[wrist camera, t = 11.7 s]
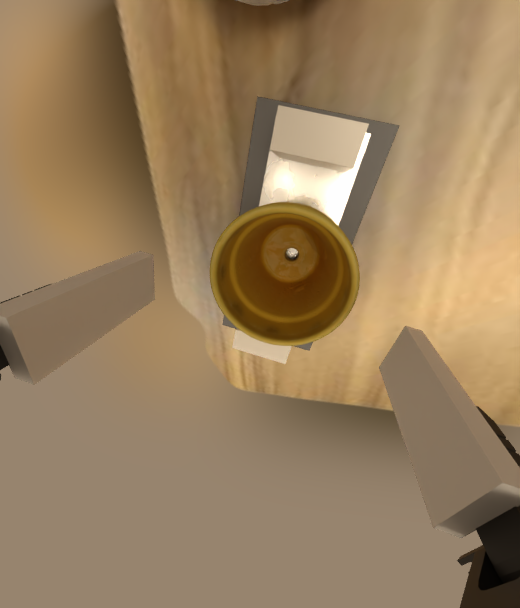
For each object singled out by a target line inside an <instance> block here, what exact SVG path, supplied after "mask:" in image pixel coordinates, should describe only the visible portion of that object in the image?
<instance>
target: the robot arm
mask: <svg viewBox="0 0 520 608" xmlns="http://www.w3.org/2000/svg"><path fill="white" fill-rule="evenodd" d="M154 299H155V296H154V263H153V255H152V254H149V253H145V252H142V251H139V252H136V253H134V254H131V255H128V256H126V257H123V258H120V259H118V260H115V261H112V262H110V263H107V264H104V265H102V266H99V267H96V268H94V269H91V270H88V271H86V272H83V273H80V274H78V275H75V276H72V277H70V278H68V279H64V280H62V281H59V282H57V283H54V284H49V285H46V286H44V287H41V288H38V289H36V290H34V291H30V292H28V293H25V294H23V295H22V296H17V297H14V298H11V299H9V300H6V301H3V302H1V303H0V370H1V369H3V368H4V367H6V366H8V365H9V366H10V368H11V370H12V372H13V375H14V377H15V378H17V379H20V380H23V381H25V382H28V383H31V384H36V383H37V382H39V381H40V380H41V379H43V378H44V377H46V376H47V375H49V374H50V373H51V372H53V371H54V370H56V369H57V368H58V367H60V366H61V365H63V364H64V363H66V362H67V361H68V360H70V359H71V358H73V357H74V356H75V355H77V354H78V353H80V352H81V351H83V350H84V349H85V348H87V347H88V346H90V345H91V344H92V343H94V342H95V341H97V340H98V339H100V338H101V337H102V336H104V335H105V334H107V333H108V332H109V331H111V330H112V329H114V328H115V327H116V326H118V325H119V324H121V323H122V322H123V321H125V320H126V319H128V318H129V317H131V316H132V315H133V314H135V313H136V312H138V311H139V310H140V309H142V308H143V307H144V306H146V305H148V304H149V303H150V302H152V301H153V300H154ZM379 369H380V371H381V374H382V377H383V380H384V383H385V386H386V389H387V392H388V395H389V398H390V401H391V404H392V407H393V410H394V413H395V416H396V419H397V422H398V425H399V428H400V431H401V434H402V437H403V440H404V443H405V446H406V448H407V452H408V454H409V457H410V460H411V463H412V466H413V469H414V472H415V475H416V478H417V481H418V484H419V487H420V490H421V493H422V496H423V499H424V502H425V505H426V508H427V511H428V514H429V517H430V519H431V523H432V526H433V528H434V529H437V530H440V531H443V532H446V533H449V534H451V535H454V536H457V537H459V538H463V537H464V536H466V535H468V534H470V533H471V532H473V531H475V530H477V532H478V534H479V537H480V539H481V541H482V543H483V545H482V546H480V547H478V548H477V549H474V550H472V551H470V552H468V553H466V554H464V555H462V556H461V557H460V558H459V559H458V562H459V563H460V564H461V565H464V564H466V563H468V562H472V565H471V569H470V572H469V576H468V579H467V583H466V587H465V590H464V594H463V598H462V601H461V605H460V608H520V455H519V454H517V453H516V450H515V449H514V447H513V446H512V445H511V443H510V442H509V441H508V440H506V437H505V435H504V434H503V433H502V431H501V430H500V429H499V427H498V426H497V425H496V423H495V422H494V421H493V420H492V419H491V418H490V417H489V416H488V415H487V414H486V413H485V412H484V411H483V410H481V409H480V408H479V407H477V406H475V404H474V403H473V402H472V400H471V399H470V397H469V396H468V395H467V393H466V392H465V390H464V389H463V388H462V386H461V385H460V383H459V382H458V381H457V379H456V378H455V376H454V375H453V374H452V372H451V371H450V369H449V368H448V367H447V365H446V364H445V362H444V361H443V360H442V358H441V357H440V355H439V354H438V353H437V351H436V350H435V348H434V347H433V346H432V344H431V343H430V341H429V340H428V339H427V337H426V336H425V334H424V333H423V332H422V331H421V330H418V329H414V328H411V327H407V326H405V327H404V329H403V330H402V332H401V334H400V335H399V337H398V338H397V340H396V341H395V343H394V345H393V346H392V348H391V349H390V351H389V352H388V354H387V356H386V357H385V359H384V360H383V362H382V364H381V365H380V367H379ZM0 380H1V374H0Z"/></svg>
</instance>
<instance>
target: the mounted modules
mask: <svg viewBox="0 0 520 608" xmlns="http://www.w3.org/2000/svg"><path fill="white" fill-rule="evenodd" d="M368 125H369V124H368V123H363V122H358V121H353V120H348V119H343V118H339V117H334V116H329V115H324V114H319V113H314V112H310V111H305V110H300V109H295V108H290V107H285V106H281V105H278V109H277V115H276V120H275V125H274V131H273V136H272V141H271V146H270V150H271V151H272V152H273V153H274V154H276V155H277V156H278V157H279V158H283V159H287V160H292V161H296V162H301V163H305V164H309V165H314V166H318V167H323V168H327V169H331V170H336V171H340V172H347V171H349V170H351V169H353V168H354V165H355V163H356V160H357V157H358V154H359V151H360V148H361V145H362V142H363V140H364V137H365V134H366V131H367V128H368ZM232 348H234V349H238V350H241V351H244V352H247V353H251V354H254V355H257V356H260V357H264V358H267V359H270V360H273V361H277V362H280V363H283V364H286V361H287V358H288V355H289V352H290V349H291V346H279V345H272V344H268V343H264V342H261V341H259V340H256V339H254V338H252V337H250V336H248V335H246V334H245V333H243V332H242V331H240V330H239V329H238V328H236V331H235V337H234V342H233V347H232Z"/></svg>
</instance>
